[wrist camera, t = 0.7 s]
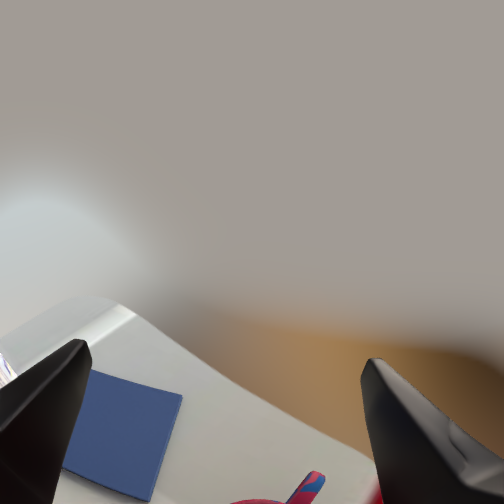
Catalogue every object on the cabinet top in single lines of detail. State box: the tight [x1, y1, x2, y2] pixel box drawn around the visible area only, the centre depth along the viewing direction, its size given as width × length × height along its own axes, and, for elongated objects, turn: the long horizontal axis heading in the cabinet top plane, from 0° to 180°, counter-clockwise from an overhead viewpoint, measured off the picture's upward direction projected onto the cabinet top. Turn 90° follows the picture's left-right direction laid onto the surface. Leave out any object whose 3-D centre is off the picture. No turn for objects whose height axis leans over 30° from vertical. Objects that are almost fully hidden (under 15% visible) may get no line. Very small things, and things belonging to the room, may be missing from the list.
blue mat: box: [62, 369, 182, 502], centre depth 21 cm, size 10×10×1 cm
